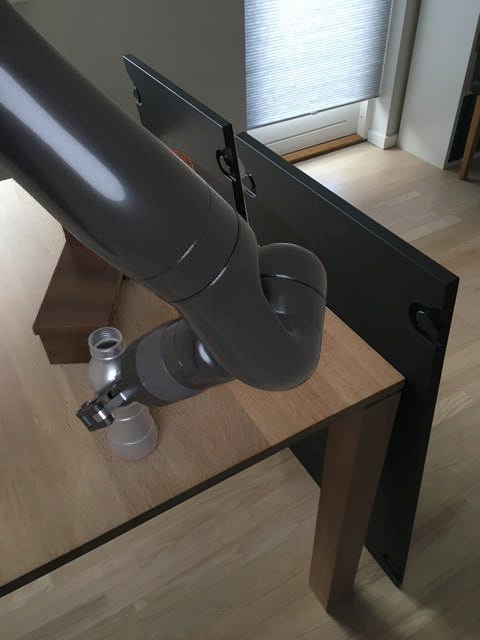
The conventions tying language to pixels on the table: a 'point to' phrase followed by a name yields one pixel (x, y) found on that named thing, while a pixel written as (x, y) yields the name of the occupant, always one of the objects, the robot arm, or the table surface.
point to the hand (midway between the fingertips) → (112, 390)
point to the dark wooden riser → (76, 303)
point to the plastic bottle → (112, 390)
